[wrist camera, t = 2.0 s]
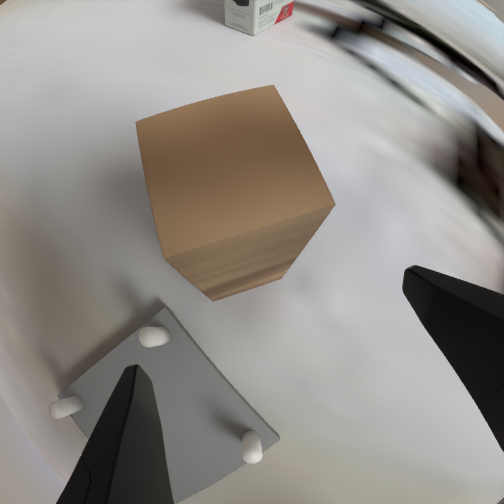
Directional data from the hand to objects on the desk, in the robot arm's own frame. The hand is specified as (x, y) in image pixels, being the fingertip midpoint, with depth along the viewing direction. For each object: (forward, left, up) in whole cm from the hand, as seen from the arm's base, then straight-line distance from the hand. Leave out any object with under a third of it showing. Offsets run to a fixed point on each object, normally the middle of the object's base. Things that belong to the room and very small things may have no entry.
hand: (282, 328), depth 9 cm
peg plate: (+1, +10, -12) cm, 15 cm away
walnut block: (+4, -3, -12) cm, 13 cm away
